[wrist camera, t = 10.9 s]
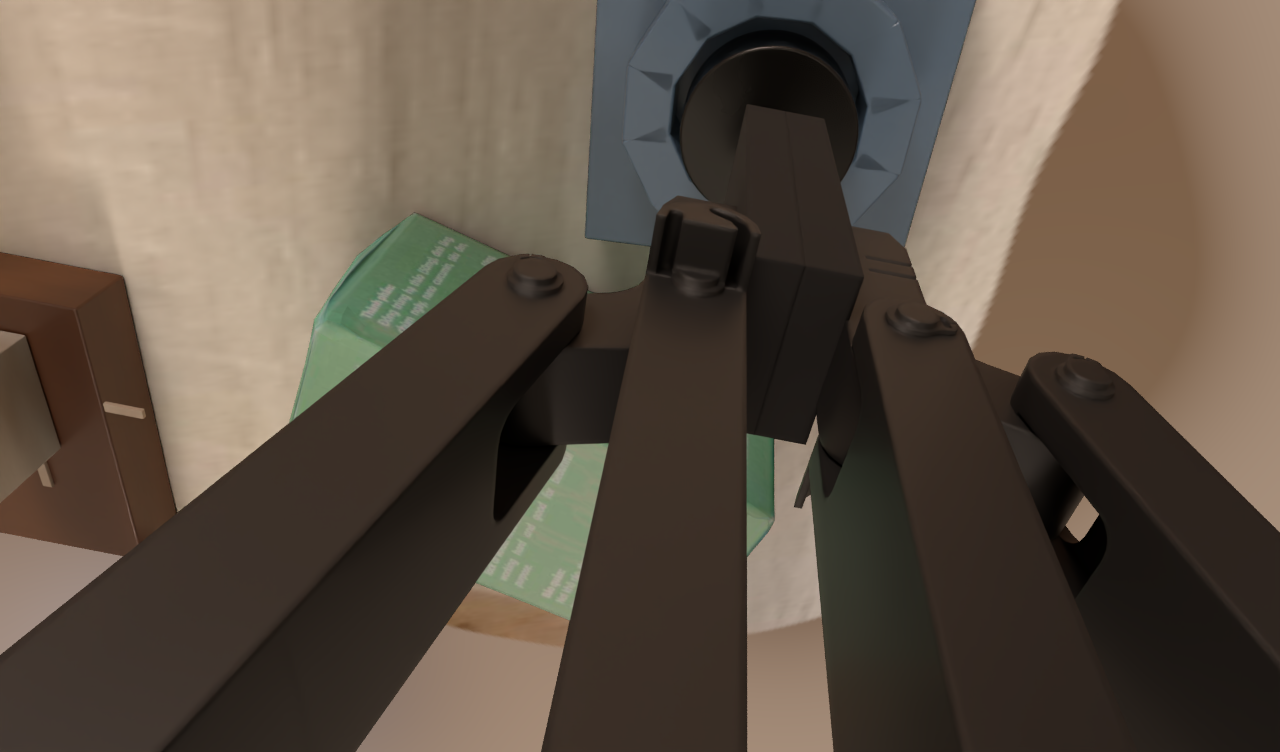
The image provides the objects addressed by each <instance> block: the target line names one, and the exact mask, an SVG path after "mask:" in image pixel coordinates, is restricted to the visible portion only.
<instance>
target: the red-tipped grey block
mask: <svg viewBox="0 0 1280 752" xmlns="http://www.w3.org/2000/svg"><path fill="white" fill-rule="evenodd" d="M60 448H61V447H60V444H59V440H58V437H57V434H56V431H55V428H54V425H53V421H52V418H51V415H50V412H49V409H48V406H47V402H46V399H45V396H44V393H43V390H42V387H41V383H40V380H39V377H38V374H37V371H36V368H35V364H34V361H33V358H32V355H31V352H30V349H29V345H28V342H27V339H26V336H25V335H21V334H16V333H11V332H6V331H0V503H1V502H2V501H3V500H4V499H5V498H6V497H7V496H9V495H10V494H11V493H12V492H13V491H14V490H15V489H16V488H17V487H18V486H20V485H21V484H22V483H23V482H24V481H25V480H26V479H27V478H28V477H29V476H31V475H32V474H33V473H34V472H35V471H36V470H37V469H38V468H39V467H40V466H42V465H43V464H44V463H45V462H46V461H47V460H48V459H49V458H50V457H52V456H53V455H54V454H55V453H56V452H57V451H58V450H59V449H60Z"/></svg>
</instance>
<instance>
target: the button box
mask: <svg viewBox="0 0 1280 752" xmlns="http://www.w3.org/2000/svg"><path fill="white" fill-rule="evenodd" d="M975 3H976V0H597V11H596V30H595V49H594V69H593V88H592V107H591V126H590V146H589V165H588V184H587V203H586V223H585V238H587V239H595V240H603V241H611V242H619V243H627V244H635V245H643V246H651V242H652V236H653V231H654V225H655V220H656V214H657V213H658V212H659V210H660V209H661V208H662V205H664V204H665V203H667V202H668V201H670V200H671V199H673V198H674V197H676V196H677V195H679V196H684V197H689V198H694V199H699V200H705V201H708V200H707V199H706V198H705V197H704V196H703V195H702V194H701V193H700V192H699V191H698V190H697V188H696V187H695V186H694V184H693V183H692V181H691V179H690V177H689V176H688V174H687V172H686V169H685V166H684V164H683V161H682V156H681V151H680V141H679V136H680V124H681V119H682V114H683V110H684V105H685V101H686V97H687V94H688V91H689V87H690V85H691V83H692V81H693V78H694V76H695V75H696V73H697V72H698V70H699V68H700V67H701V65H702V64H703V63H704V62H705V61H706V59H707V58H708V57H709V56H710V55H711V54H712V53H713V52H715V51H716V50H717V49H718V48H720V47H721V46H722V45H724V44H725V43H727V42H729V41H730V40H732V39H734V38H736V37H739V36H741V35H744V34H747V33H750V32H755V31H760V30H784V31H789V32H794V33H797V34H800V35H803V36H805V37H807V38H809V39H811V40H813V41H815V42H816V43H817V44H819V45H820V46H822V47H823V48H824V49H825V50H826V51H827V52H828V53H829V54H830V55H831V56H832V57H833V58H834V60H835V61H836V62H837V63H838V65H839V67H840V68H841V70H842V72H843V74H844V76H845V79H846V81H847V83H848V86H849V89H850V92H851V94H852V97H853V100H854V102H855V106H856V110H857V114H858V124H859V132H858V142H857V148H856V152H855V155H854V158H853V161H852V163H851V166H850V168H849V170H848V172H847V173H846V175H845V177H844V178H843V180H842V181H841V187H842V191H843V195H844V199H845V203H846V207H847V211H848V214H849V218H850V222H851V226H854V227H859V228H864V229H870V230H875V231H880V232H885V233H889V234H890V235H891V236H892V237H893V238H895V239H896V240H897V241H898V242H899V243H900V244H901V245H902V246H903V247H905V244H906V240H907V237H908V233H909V230H910V227H911V223H912V220H913V216H914V213H915V209H916V206H917V203H918V199H919V196H920V192H921V189H922V185H923V182H924V178H925V175H926V172H927V168H928V165H929V161H930V158H931V154H932V151H933V148H934V144H935V141H936V137H937V134H938V130H939V127H940V124H941V120H942V117H943V113H944V110H945V106H946V103H947V100H948V96H949V93H950V89H951V86H952V82H953V79H954V75H955V72H956V69H957V65H958V62H959V58H960V55H961V51H962V48H963V45H964V41H965V38H966V34H967V31H968V27H969V24H970V21H971V17H972V14H973V10H974V7H975Z"/></svg>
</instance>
